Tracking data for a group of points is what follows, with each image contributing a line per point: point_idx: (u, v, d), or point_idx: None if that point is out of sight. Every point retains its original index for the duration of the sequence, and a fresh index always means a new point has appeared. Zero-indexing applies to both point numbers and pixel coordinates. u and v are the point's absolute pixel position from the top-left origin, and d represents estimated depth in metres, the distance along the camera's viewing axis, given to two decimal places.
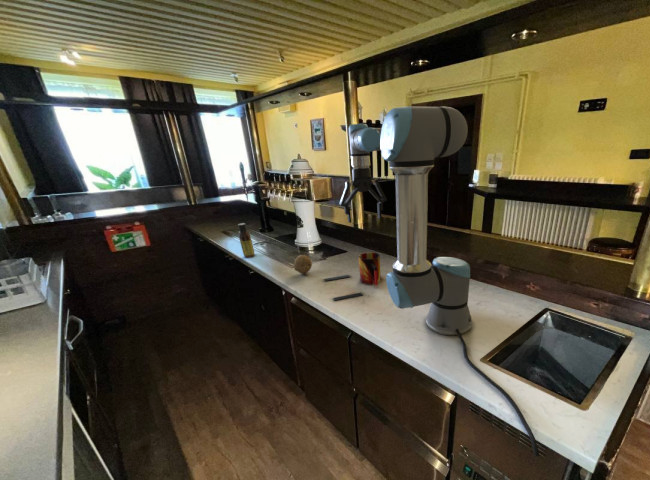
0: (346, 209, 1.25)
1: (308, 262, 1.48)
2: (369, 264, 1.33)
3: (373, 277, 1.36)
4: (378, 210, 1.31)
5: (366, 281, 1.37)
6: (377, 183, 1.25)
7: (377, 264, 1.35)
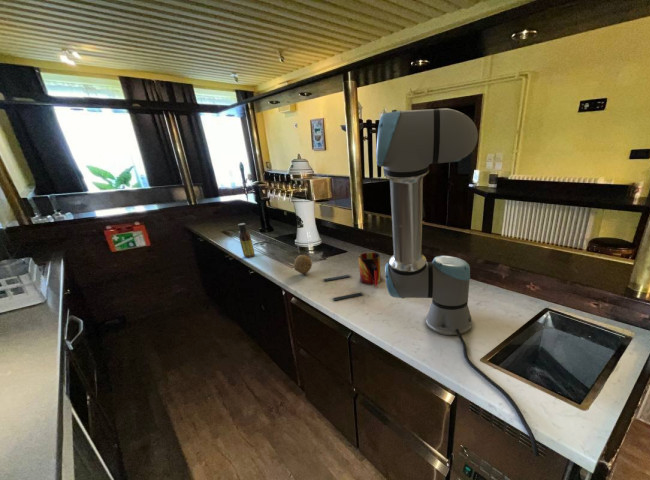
0: None
1: (308, 262, 1.48)
2: (369, 264, 1.33)
3: (373, 277, 1.36)
4: None
5: (366, 281, 1.37)
6: None
7: (377, 264, 1.35)
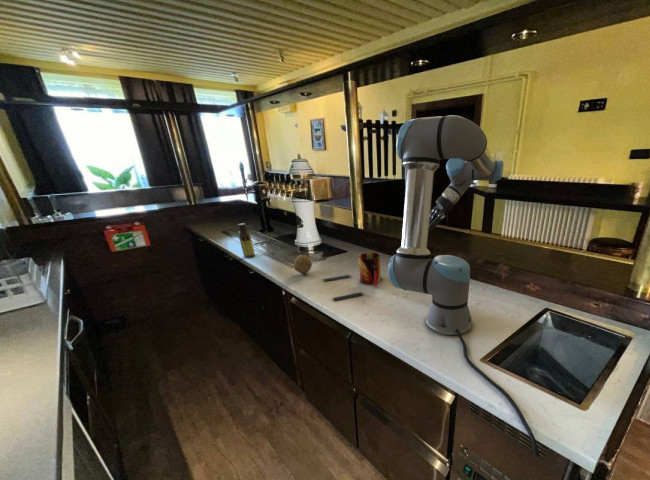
0: None
1: (308, 262, 1.48)
2: (369, 264, 1.33)
3: (373, 277, 1.36)
4: None
5: (366, 281, 1.37)
6: (439, 215, 1.33)
7: (377, 264, 1.35)
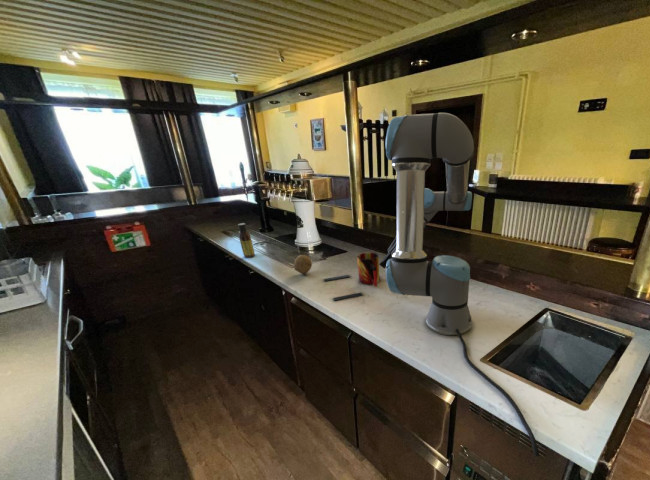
0: (387, 255, 1.39)
1: (308, 262, 1.48)
2: (368, 264, 1.33)
3: (372, 277, 1.36)
4: None
5: (365, 281, 1.37)
6: None
7: (376, 264, 1.35)
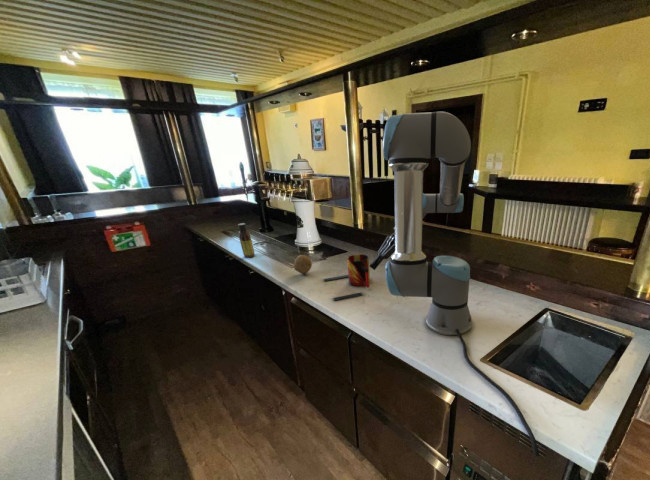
0: (377, 256, 1.38)
1: (308, 262, 1.48)
2: (359, 266, 1.31)
3: (363, 279, 1.34)
4: None
5: (356, 283, 1.35)
6: None
7: (366, 266, 1.34)
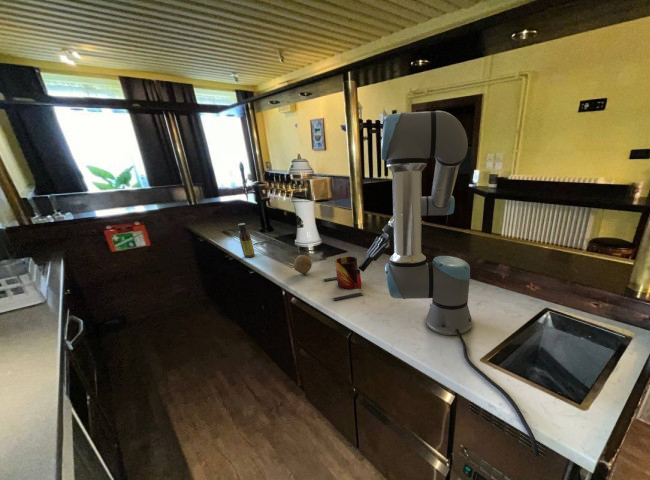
0: None
1: (308, 262, 1.48)
2: (349, 268, 1.29)
3: (354, 281, 1.33)
4: None
5: (347, 286, 1.33)
6: (384, 244, 1.29)
7: (356, 267, 1.32)
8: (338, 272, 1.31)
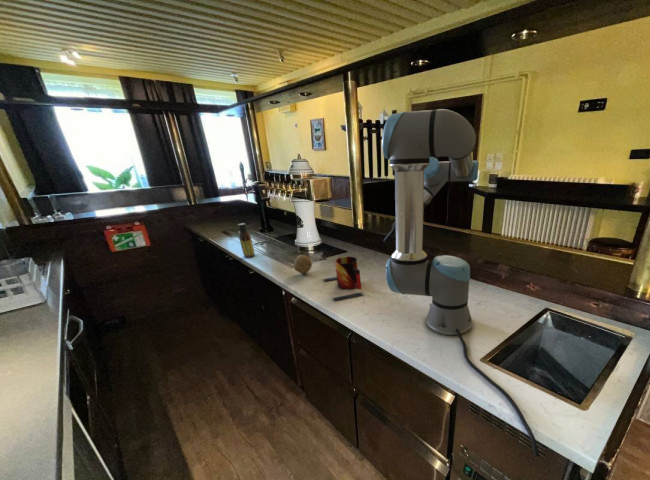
0: (391, 231, 1.35)
1: (308, 262, 1.48)
2: (349, 268, 1.29)
3: (353, 281, 1.33)
4: None
5: (346, 286, 1.33)
6: None
7: (356, 267, 1.32)
8: (338, 272, 1.31)
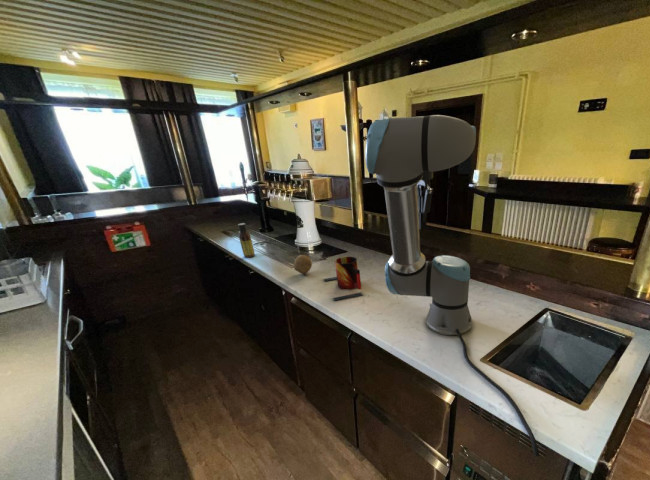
0: None
1: (308, 262, 1.48)
2: (349, 268, 1.29)
3: (353, 281, 1.33)
4: None
5: (346, 286, 1.33)
6: (426, 192, 1.16)
7: (356, 267, 1.32)
8: (338, 272, 1.31)
